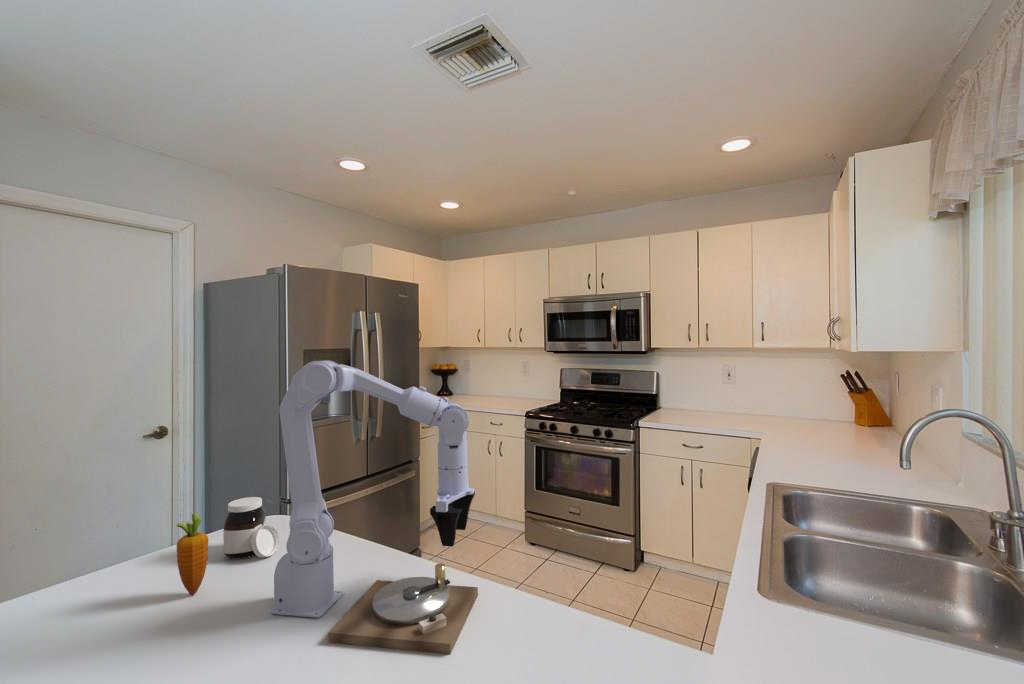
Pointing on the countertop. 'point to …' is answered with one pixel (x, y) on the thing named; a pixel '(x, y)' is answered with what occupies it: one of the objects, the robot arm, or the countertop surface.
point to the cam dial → (412, 598)
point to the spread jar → (248, 530)
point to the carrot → (192, 555)
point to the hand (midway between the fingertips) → (454, 537)
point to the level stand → (421, 636)
